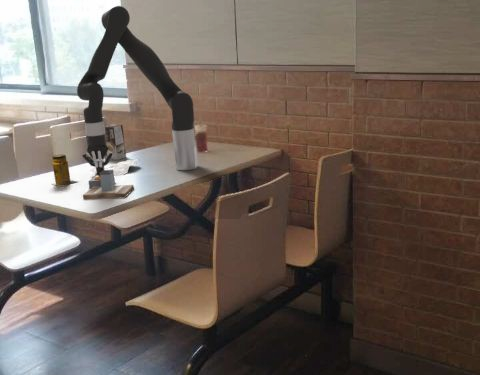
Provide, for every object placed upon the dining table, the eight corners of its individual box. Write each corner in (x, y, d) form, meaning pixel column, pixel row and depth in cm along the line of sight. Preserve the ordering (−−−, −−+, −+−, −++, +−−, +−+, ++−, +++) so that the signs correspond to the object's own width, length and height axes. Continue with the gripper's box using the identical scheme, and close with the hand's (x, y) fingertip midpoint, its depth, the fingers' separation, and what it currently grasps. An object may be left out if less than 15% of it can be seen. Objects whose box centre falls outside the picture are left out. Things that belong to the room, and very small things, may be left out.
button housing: (114, 182, 243) (114, 175, 242) (108, 187, 235) (107, 180, 234) (96, 183, 244) (95, 176, 243) (89, 188, 236) (88, 181, 235)
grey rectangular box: (115, 188, 227) (113, 169, 225) (112, 190, 224) (109, 172, 222) (105, 188, 228) (103, 170, 226) (101, 191, 224) (99, 172, 222)
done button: (108, 182, 241) (107, 174, 240) (105, 185, 237) (104, 177, 236) (99, 183, 241) (98, 174, 241) (95, 185, 238) (94, 177, 237)
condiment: (51, 184, 246) (47, 156, 243) (68, 179, 253) (64, 152, 249) (61, 186, 242) (57, 158, 239) (79, 181, 248) (75, 153, 245)
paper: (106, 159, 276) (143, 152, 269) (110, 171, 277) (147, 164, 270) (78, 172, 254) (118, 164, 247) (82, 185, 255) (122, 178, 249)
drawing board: (133, 188, 231) (133, 184, 231) (125, 197, 219) (124, 193, 219) (94, 190, 233) (93, 186, 232) (83, 198, 221) (82, 194, 221)
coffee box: (127, 157, 290) (123, 124, 286) (117, 160, 285) (113, 126, 281) (113, 156, 295) (109, 124, 291) (104, 159, 290) (99, 126, 285)
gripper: (114, 130, 237) (119, 173, 241) (82, 132, 238) (88, 174, 243) (108, 134, 229) (114, 177, 234) (75, 135, 231) (81, 178, 235)
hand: (101, 175), depth 238 cm, fingers closed
